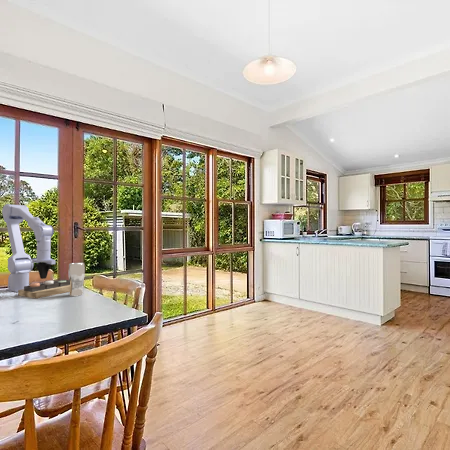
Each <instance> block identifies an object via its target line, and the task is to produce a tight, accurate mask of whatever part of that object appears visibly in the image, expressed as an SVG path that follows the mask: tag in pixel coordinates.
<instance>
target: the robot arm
mask: <svg viewBox="0 0 450 450" xmlns="http://www.w3.org/2000/svg"><path fill="white" fill-rule="evenodd" d="M29 210H30V208H29V207H28V206H27V205H25V204H22V205H21V204H11V203H10V204H9V203H6V204H4V205H3V207H2V210H1V213H2V217H3V222H5V223H6V224H5V225H6V228H7V234H8V238H9V243H10V248H11V252H12V255H11V256H10V257H8V259H7V269H8V272H9V275H8V277H7V278H8V279H7V289H6V291H9V292H15V293H18V290H21V289H24V286H30V273H31V271H33V268H34V266H35V268H36V269H37V271H38V274H39V278H40V279H41V280H44V279H47V277H48V273H49V271H50V269H51V267H52V265H56V260H55V259H53V258H51V243H52V240H51V239H52V237H53V235H54V228H53V226H52V225H50V224H49V225H48V224H46V223H45V222H44V221H43V220H41V218H40V217H38V216H35V217H34V216H33V214H32V213H31V212H30V211H29ZM24 220H25V222H27V226H28V227H29V228H30V229H31V230H32V231H33V234H34V237H35V241H36V258H31V255H30V254H28V253H26V252H25V248H24V247H25V246H24V243H23V238H22V232H21V229H20V223H23V222H24ZM34 264H35V265H34Z"/></svg>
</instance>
